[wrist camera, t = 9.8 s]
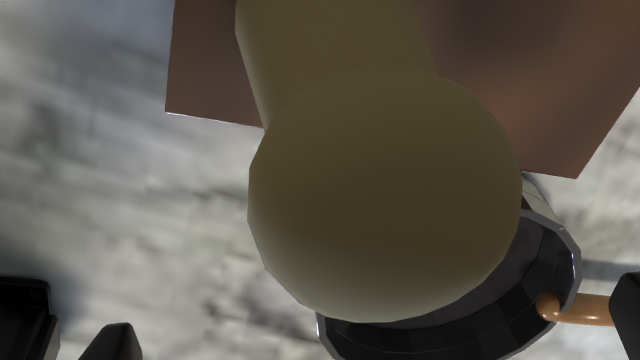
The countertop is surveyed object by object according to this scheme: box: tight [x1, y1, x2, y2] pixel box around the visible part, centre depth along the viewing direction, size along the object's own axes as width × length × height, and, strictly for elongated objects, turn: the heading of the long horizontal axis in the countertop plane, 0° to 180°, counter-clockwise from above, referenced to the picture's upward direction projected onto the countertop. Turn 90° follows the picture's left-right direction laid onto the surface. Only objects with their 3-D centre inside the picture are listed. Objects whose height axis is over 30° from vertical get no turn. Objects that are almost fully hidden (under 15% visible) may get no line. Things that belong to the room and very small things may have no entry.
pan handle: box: [536, 291, 615, 327], centre depth 27 cm, size 9×2×2 cm, turn 75°
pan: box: [315, 175, 583, 360], centre depth 26 cm, size 13×13×4 cm
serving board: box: [165, 0, 640, 179], centre depth 19 cm, size 18×9×2 cm, turn 75°
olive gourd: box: [235, 0, 523, 323], centre depth 13 cm, size 6×6×11 cm
